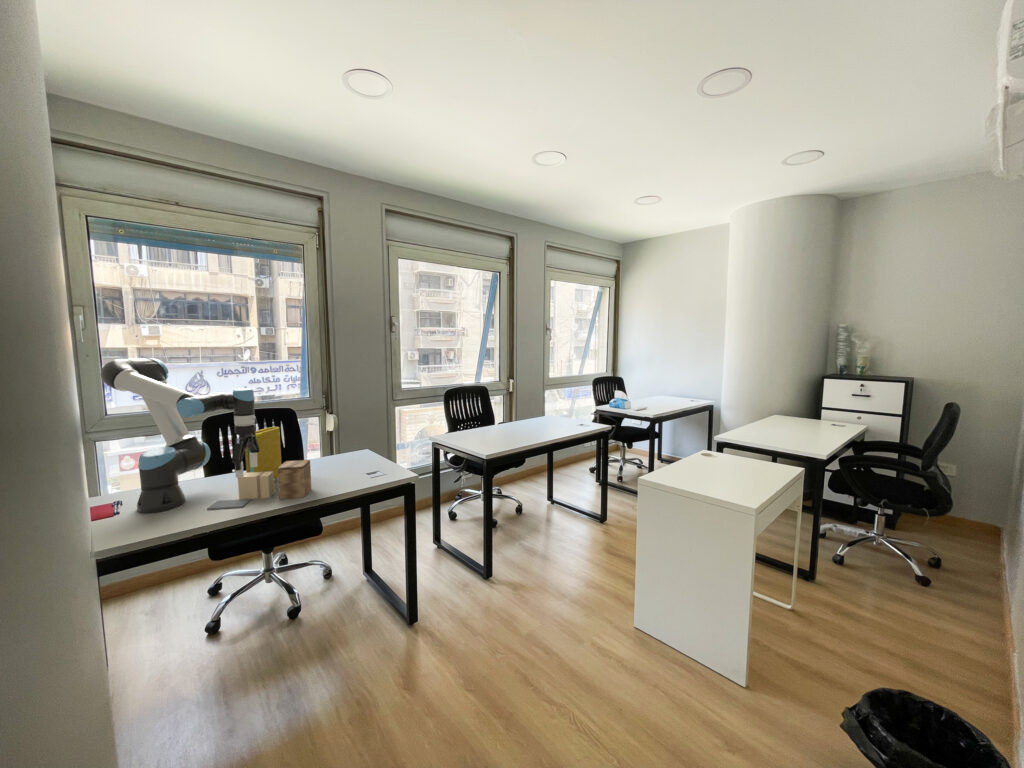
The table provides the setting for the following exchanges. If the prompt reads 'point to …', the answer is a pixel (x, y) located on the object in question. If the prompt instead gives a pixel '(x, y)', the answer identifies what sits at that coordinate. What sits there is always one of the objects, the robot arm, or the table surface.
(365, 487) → the table surface
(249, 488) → the blank
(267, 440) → the book
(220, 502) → the pad
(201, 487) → the table surface
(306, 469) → the wooden box
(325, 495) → the table surface
